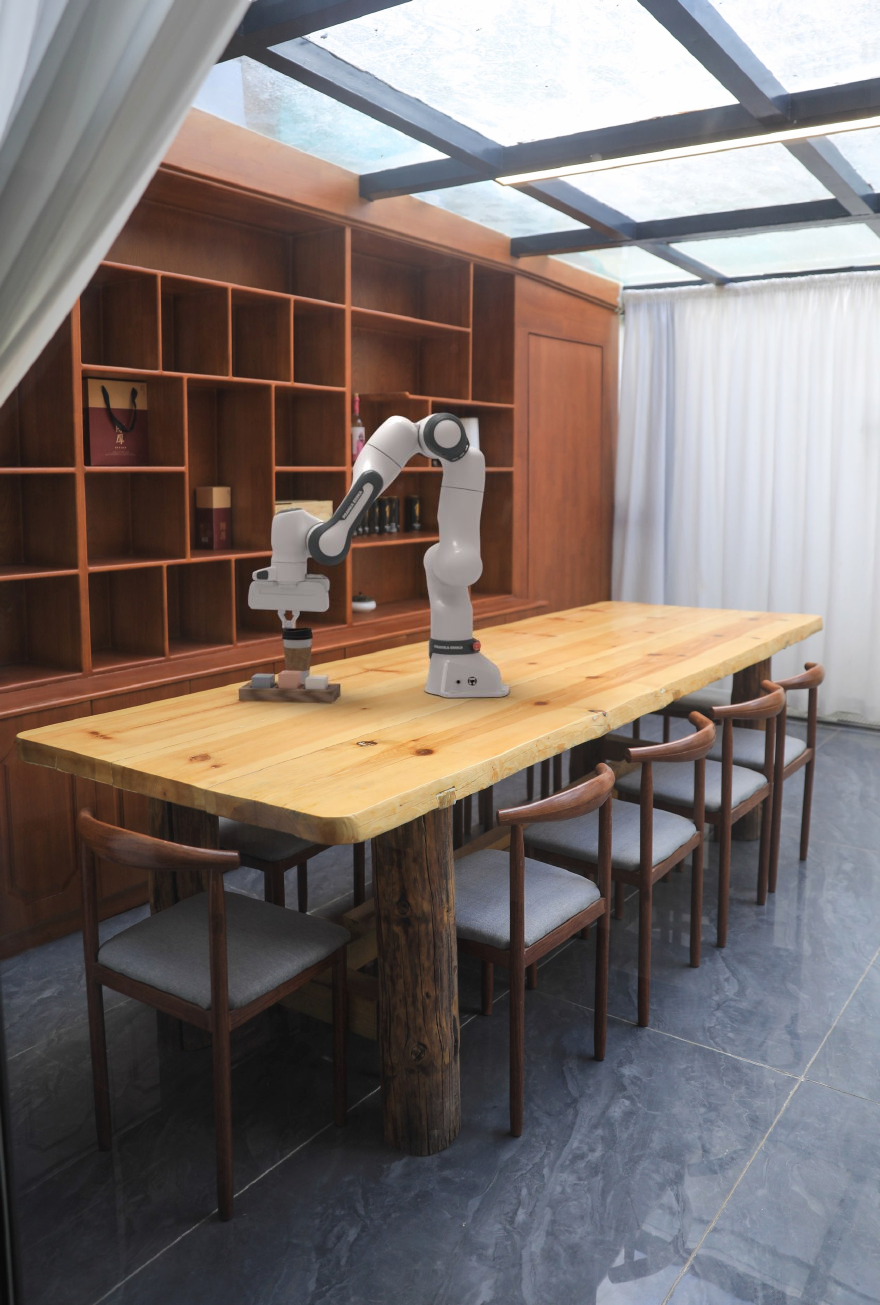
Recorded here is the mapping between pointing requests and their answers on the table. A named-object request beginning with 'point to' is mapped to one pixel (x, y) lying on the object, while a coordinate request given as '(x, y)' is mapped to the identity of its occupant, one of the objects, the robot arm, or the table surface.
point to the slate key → (263, 681)
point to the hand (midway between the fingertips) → (288, 627)
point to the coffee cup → (298, 650)
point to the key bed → (290, 694)
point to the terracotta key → (290, 679)
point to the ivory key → (317, 682)
